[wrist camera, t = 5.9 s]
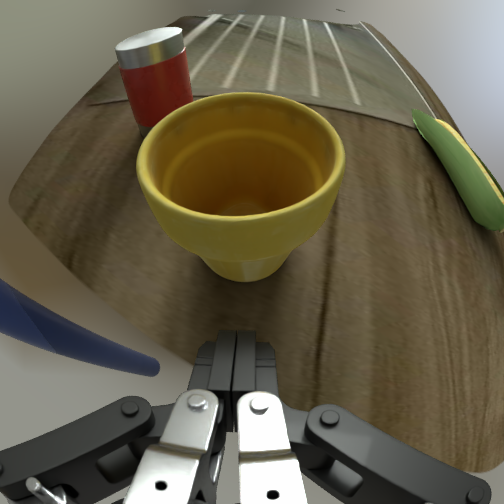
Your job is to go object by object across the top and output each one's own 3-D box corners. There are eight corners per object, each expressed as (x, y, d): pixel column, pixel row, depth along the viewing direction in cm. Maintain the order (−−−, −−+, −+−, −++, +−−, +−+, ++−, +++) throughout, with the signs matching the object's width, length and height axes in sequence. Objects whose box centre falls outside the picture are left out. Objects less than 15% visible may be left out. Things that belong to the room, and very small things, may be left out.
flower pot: (231, 172, 25) (223, 76, 16) (334, 226, 22) (372, 129, 13) (151, 256, 20) (97, 166, 12) (264, 336, 18) (274, 278, 9)
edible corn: (478, 245, 21) (503, 221, 17) (398, 118, 30) (408, 91, 26) (501, 239, 21) (523, 217, 17) (424, 121, 31) (434, 97, 27)
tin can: (169, 148, 26) (144, 50, 16) (129, 135, 28) (100, 52, 18) (207, 115, 29) (197, 26, 19) (166, 105, 31) (150, 27, 21)
